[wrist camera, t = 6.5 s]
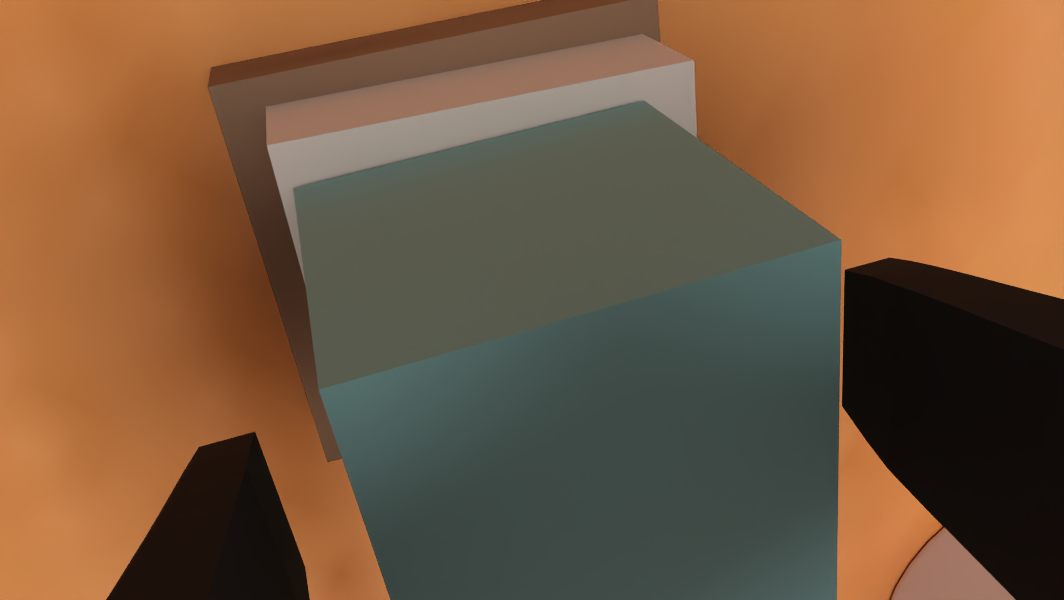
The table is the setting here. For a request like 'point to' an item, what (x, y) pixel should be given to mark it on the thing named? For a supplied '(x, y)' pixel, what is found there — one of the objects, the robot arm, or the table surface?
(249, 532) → the robot arm
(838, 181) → the table surface
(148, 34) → the table surface
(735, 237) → the cube
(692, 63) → the top tile
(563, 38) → the bottom tile
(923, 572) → the pill bottle
